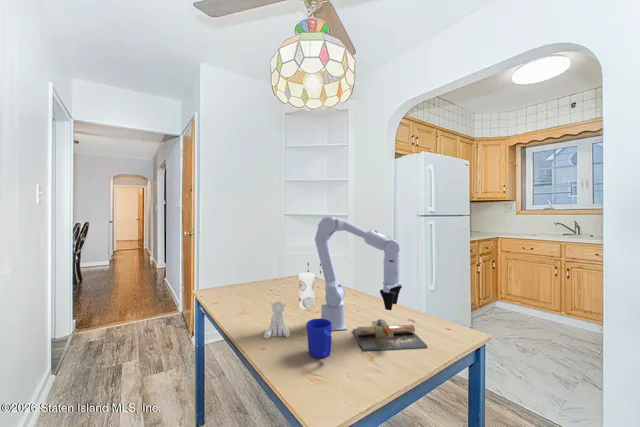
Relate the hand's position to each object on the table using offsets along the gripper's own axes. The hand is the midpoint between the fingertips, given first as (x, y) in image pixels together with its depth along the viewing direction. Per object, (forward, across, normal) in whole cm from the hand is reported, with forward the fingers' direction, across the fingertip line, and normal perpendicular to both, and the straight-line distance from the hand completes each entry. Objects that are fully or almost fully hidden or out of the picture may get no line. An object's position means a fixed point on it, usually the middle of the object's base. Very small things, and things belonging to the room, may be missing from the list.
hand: (391, 306), depth 110 cm
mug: (+10, -29, +15) cm, 34 cm away
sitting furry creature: (+10, -21, +38) cm, 45 cm away
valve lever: (+5, -10, 0) cm, 11 cm away
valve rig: (+10, -6, 0) cm, 12 cm away
